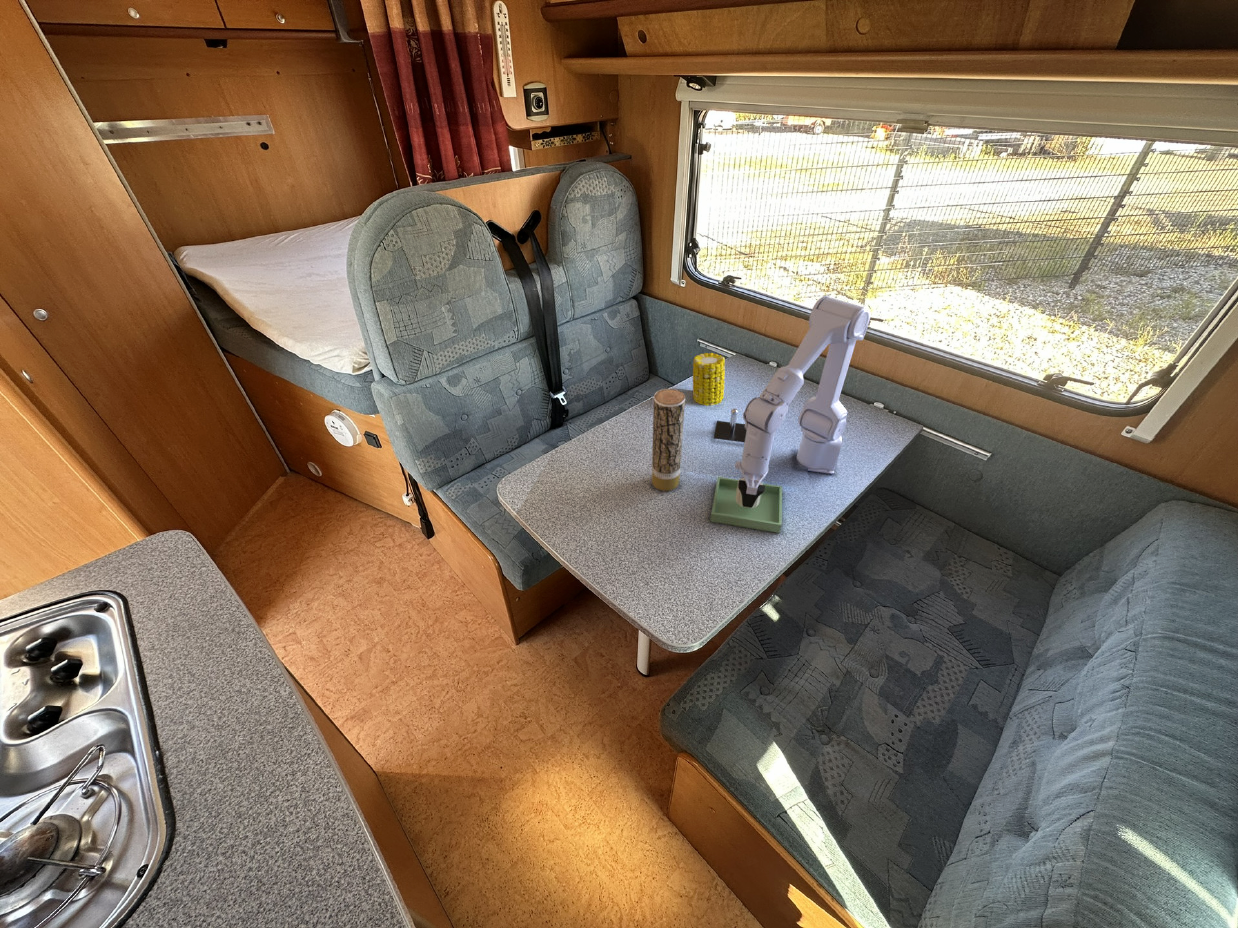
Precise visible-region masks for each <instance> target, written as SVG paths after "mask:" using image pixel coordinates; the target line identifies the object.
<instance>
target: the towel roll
mask: <svg viewBox="0 0 1238 928" xmlns="http://www.w3.org/2000/svg"><path fill="white" fill-rule="evenodd" d="M738 480H743V481H745V479H744V477H743V476H742V477H740V478H739V479H738ZM738 483H739V481H738ZM762 483H763V482H762V481H761V483H760V484H759V485H763V484H764V483H763V484H762ZM760 497H761V495H760V496H759V497H758V498H757V500H756V502H755V503H754V505H753V507H752V508H754V507H756V506H757V505H759V502H760ZM735 500H736V502H737V504H738V505H740V506H742V507H743V505H742V495H741V492H740V490H739V488H738V486H737V491H736V498H735ZM744 508H749V507H744Z"/></svg>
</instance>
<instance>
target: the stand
mask: <svg viewBox="0 0 1238 928" xmlns="http://www.w3.org/2000/svg"><path fill="white" fill-rule="evenodd" d="M738 413H739V411H738V409H737V408H732V409H731V410H730V419H729V421H723V420H716V424H715V430H714V435H713V439H715V440H721V441H729V442H730V441H731V442H737V443H744V444H745V438H746V432H747V430H746V428H745V423H739V422H737V418H738Z"/></svg>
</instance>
